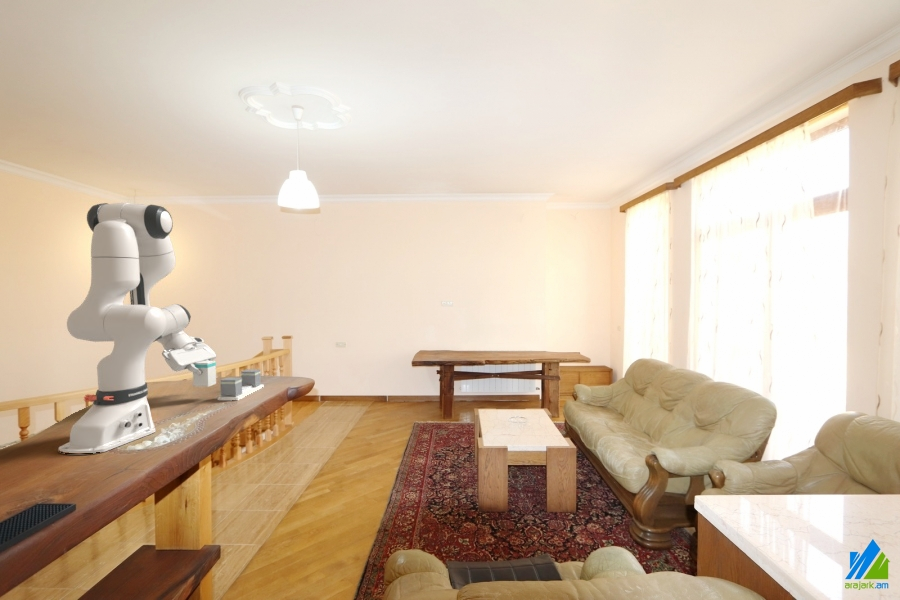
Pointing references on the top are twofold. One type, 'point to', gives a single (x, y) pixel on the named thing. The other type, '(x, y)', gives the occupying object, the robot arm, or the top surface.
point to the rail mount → (240, 385)
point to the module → (205, 374)
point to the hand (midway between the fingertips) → (206, 372)
